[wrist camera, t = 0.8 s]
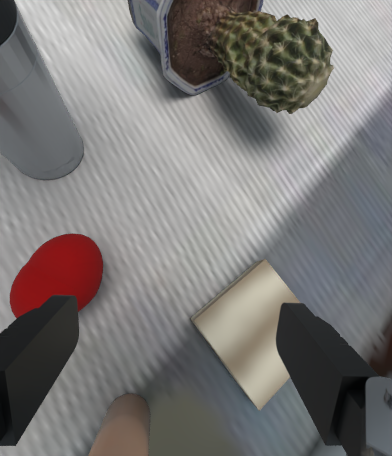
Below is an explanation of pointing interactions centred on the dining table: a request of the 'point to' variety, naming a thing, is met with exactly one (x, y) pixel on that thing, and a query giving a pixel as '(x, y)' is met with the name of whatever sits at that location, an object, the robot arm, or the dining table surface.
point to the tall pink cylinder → (124, 428)
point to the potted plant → (236, 49)
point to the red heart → (58, 273)
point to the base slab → (249, 330)
